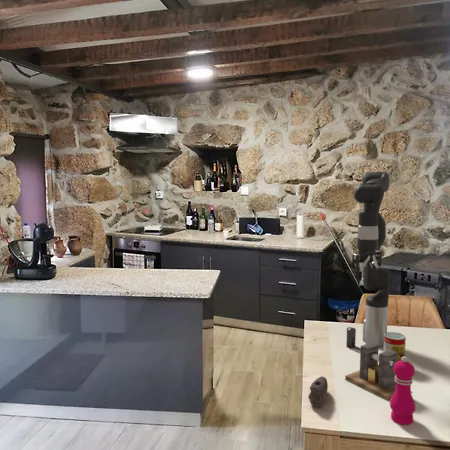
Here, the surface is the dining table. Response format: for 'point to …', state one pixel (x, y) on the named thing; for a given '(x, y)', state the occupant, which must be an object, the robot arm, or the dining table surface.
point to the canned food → (395, 343)
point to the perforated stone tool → (318, 391)
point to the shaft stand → (386, 373)
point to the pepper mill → (403, 393)
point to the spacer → (373, 374)
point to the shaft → (351, 345)
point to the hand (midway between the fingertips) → (366, 279)
